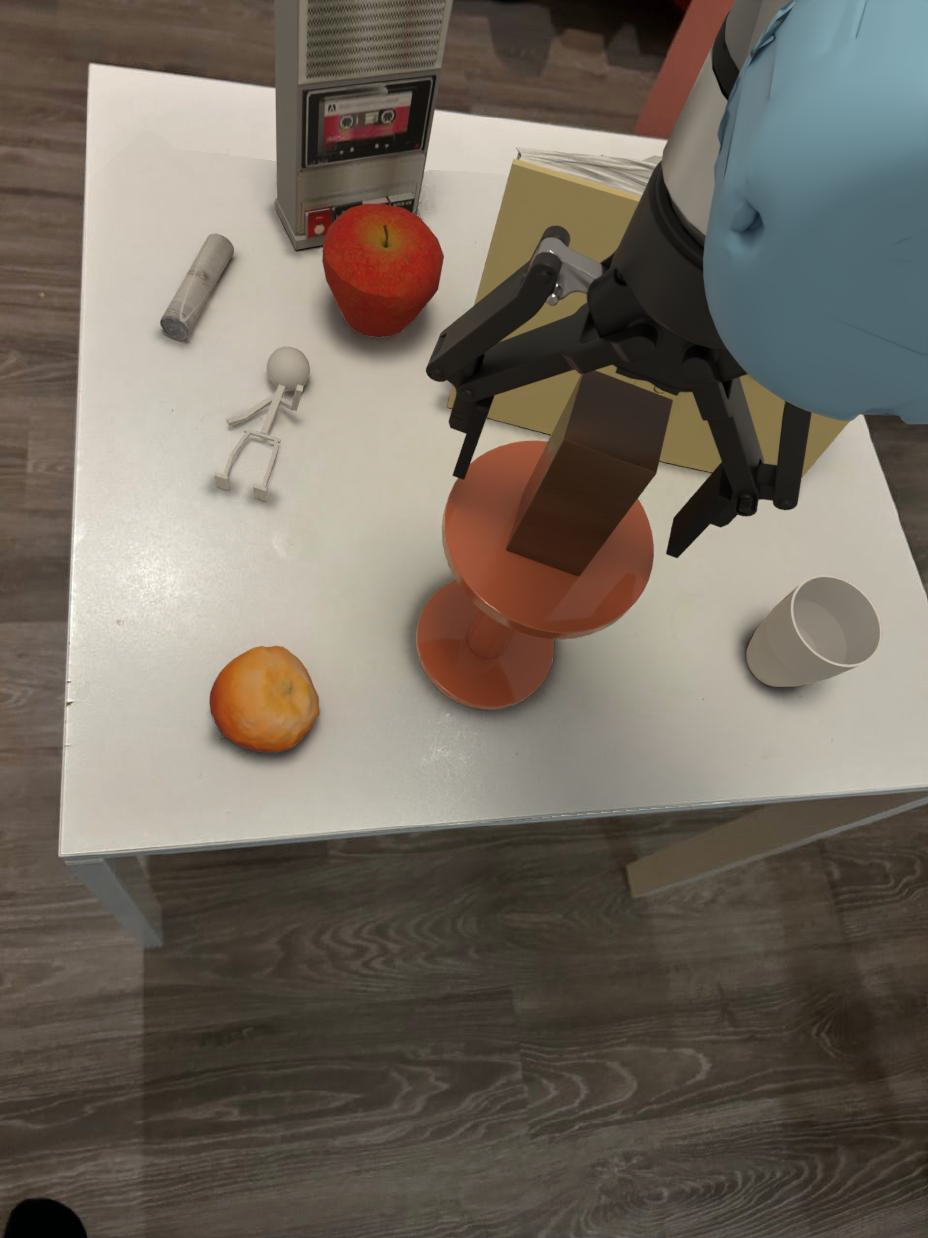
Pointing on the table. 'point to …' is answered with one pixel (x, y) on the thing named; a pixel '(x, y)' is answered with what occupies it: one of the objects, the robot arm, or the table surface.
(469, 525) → the orange pedestal stand
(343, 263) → the apple
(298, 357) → the figurine
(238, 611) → the table surface
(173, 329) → the rod
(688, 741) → the table surface
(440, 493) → the table surface
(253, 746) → the fruit
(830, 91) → the robot arm
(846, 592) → the cup
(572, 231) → the book
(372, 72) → the cassette tape recorder
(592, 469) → the walnut block
